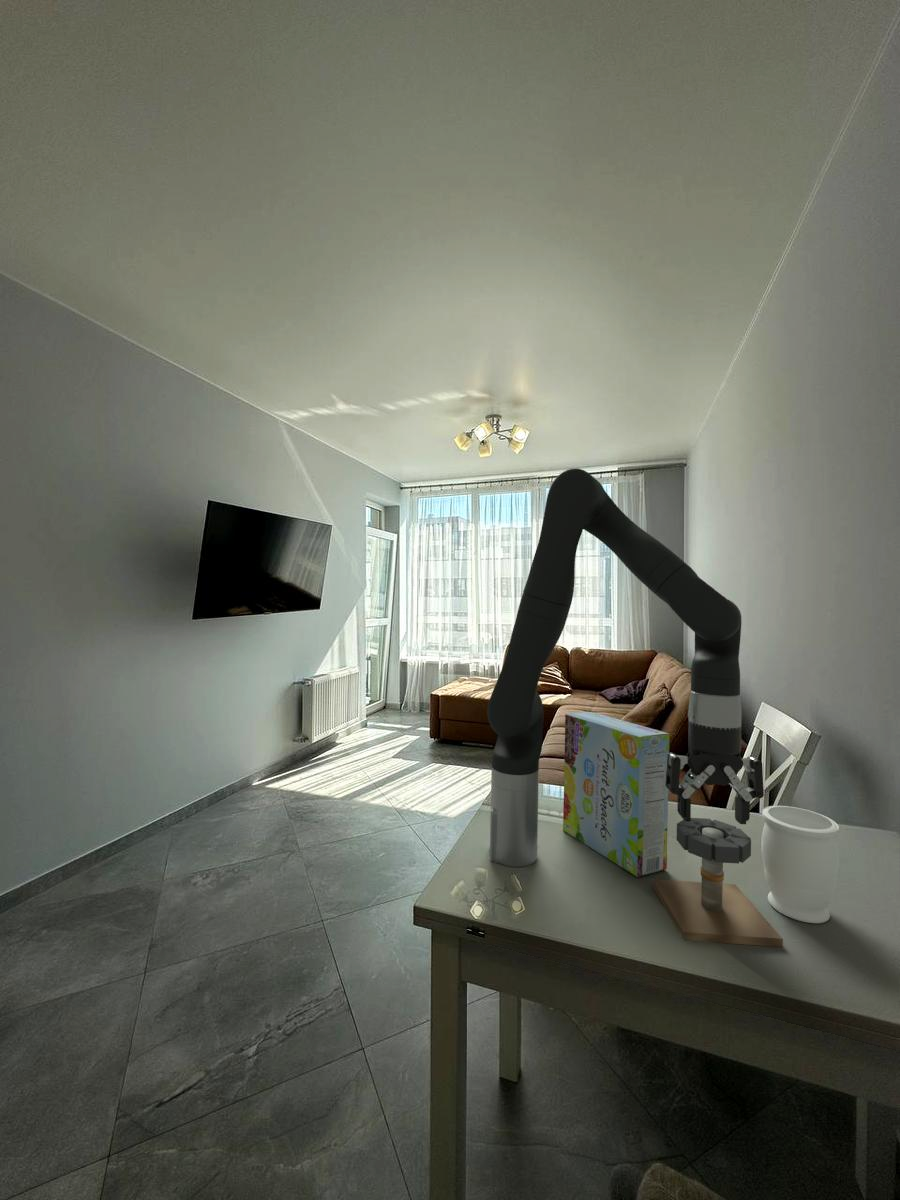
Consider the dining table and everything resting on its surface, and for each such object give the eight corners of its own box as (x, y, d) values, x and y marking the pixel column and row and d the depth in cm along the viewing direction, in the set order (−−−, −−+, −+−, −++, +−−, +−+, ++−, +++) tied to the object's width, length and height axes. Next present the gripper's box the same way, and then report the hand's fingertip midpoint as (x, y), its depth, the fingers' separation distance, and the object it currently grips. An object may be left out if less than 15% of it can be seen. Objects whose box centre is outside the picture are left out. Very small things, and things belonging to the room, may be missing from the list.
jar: (811, 936, 75) (812, 837, 75) (746, 898, 84) (747, 810, 84) (852, 919, 79) (854, 825, 79) (786, 884, 88) (787, 800, 88)
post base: (683, 940, 73) (685, 850, 73) (652, 886, 87) (653, 811, 87) (782, 947, 72) (784, 856, 72) (735, 891, 86) (736, 815, 86)
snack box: (671, 870, 93) (673, 732, 93) (637, 881, 89) (639, 737, 89) (590, 822, 112) (592, 709, 112) (560, 829, 108) (561, 712, 108)
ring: (693, 861, 75) (693, 845, 75) (669, 830, 85) (669, 816, 85) (762, 864, 74) (762, 848, 74) (729, 833, 84) (730, 819, 84)
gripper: (677, 724, 77) (676, 829, 77) (774, 727, 75) (772, 834, 75) (660, 713, 84) (659, 809, 84) (748, 716, 83) (747, 813, 83)
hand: (713, 820), depth 80 cm, fingers open, 8 cm apart
